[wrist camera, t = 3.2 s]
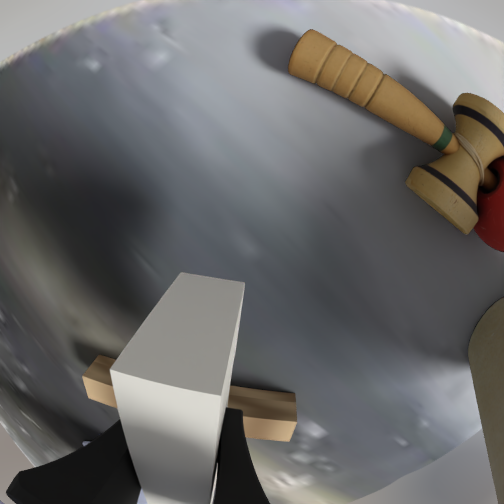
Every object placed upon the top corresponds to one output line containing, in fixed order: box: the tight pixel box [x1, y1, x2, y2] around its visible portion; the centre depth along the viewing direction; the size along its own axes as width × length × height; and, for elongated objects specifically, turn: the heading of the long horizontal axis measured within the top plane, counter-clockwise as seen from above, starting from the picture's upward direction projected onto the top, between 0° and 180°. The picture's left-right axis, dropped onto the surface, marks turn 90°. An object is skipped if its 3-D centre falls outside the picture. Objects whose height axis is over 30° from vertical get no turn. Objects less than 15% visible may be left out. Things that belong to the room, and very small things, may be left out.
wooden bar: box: [82, 355, 297, 441], centre depth 20 cm, size 16×2×3 cm, turn 82°
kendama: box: [288, 29, 504, 252], centre depth 13 cm, size 8×6×18 cm
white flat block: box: [110, 272, 245, 504], centre depth 10 cm, size 2×10×6 cm, turn 172°
